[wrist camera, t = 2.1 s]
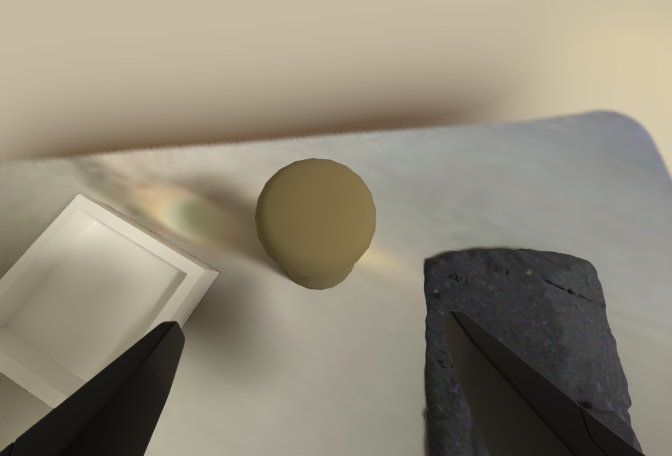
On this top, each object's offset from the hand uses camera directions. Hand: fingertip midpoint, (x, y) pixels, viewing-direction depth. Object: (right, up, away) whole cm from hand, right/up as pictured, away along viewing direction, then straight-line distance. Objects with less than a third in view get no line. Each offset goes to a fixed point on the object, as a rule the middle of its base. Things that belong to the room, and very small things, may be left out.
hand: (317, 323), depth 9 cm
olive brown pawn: (-1, +1, +12) cm, 12 cm away
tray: (-15, -2, +10) cm, 18 cm away
